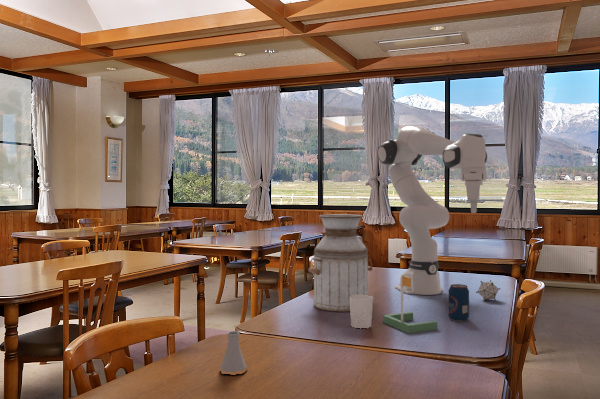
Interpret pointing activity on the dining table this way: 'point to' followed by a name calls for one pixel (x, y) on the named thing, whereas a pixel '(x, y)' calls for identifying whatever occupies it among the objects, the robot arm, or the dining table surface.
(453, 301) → the soda can
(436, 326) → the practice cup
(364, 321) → the white cup
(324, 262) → the milk can
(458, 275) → the dining table surface
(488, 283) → the game die
